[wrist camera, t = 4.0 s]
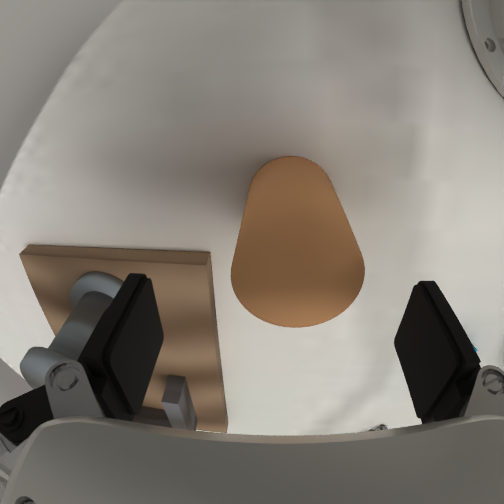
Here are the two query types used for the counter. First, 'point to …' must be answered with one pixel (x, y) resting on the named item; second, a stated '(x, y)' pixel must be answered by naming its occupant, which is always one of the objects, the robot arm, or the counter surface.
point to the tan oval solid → (295, 247)
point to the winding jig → (171, 315)
